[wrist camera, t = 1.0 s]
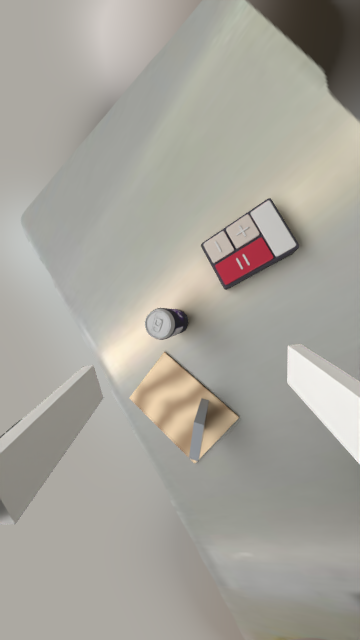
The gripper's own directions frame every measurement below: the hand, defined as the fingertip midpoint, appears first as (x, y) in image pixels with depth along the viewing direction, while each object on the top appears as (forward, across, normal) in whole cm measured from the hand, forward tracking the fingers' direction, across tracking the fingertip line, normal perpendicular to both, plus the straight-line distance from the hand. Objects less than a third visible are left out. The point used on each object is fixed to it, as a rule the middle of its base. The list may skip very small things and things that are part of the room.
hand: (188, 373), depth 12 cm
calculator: (+30, -13, -9) cm, 34 cm away
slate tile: (+22, 0, +25) cm, 33 cm away
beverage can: (+29, +3, +4) cm, 30 cm away
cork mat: (+24, +6, +24) cm, 35 cm away
